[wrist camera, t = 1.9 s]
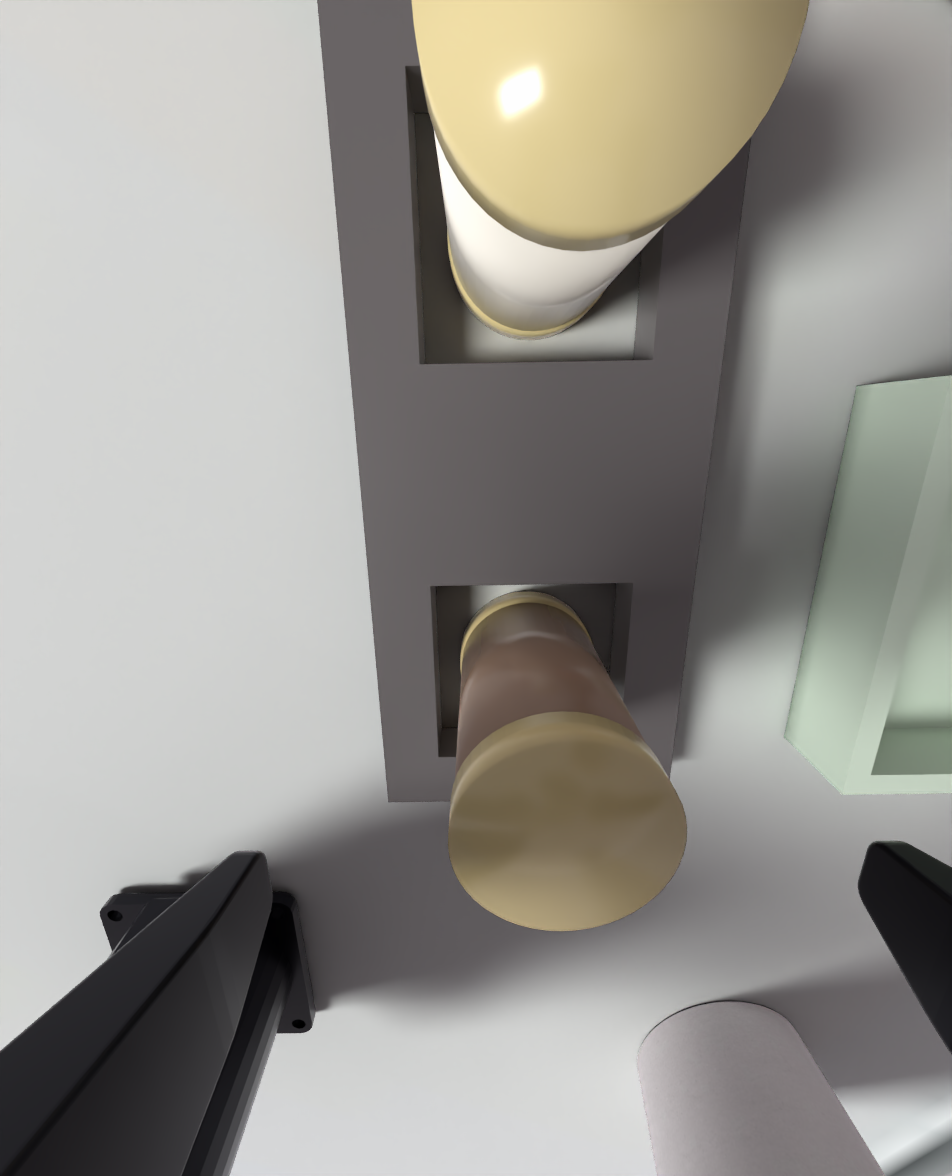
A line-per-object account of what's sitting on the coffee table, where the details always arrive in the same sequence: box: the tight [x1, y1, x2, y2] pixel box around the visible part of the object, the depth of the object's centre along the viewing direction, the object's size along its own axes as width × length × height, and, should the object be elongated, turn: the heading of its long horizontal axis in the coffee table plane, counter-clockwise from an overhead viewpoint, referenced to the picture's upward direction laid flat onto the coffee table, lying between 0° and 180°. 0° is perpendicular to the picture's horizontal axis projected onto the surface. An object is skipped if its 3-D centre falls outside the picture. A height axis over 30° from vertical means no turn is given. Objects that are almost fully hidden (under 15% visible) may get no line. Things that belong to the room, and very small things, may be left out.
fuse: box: [412, 0, 809, 340], centre depth 8 cm, size 4×4×7 cm
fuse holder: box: [317, 0, 751, 802], centre depth 12 cm, size 18×8×1 cm, turn 1°
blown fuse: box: [448, 591, 687, 931], centre depth 11 cm, size 4×4×7 cm
